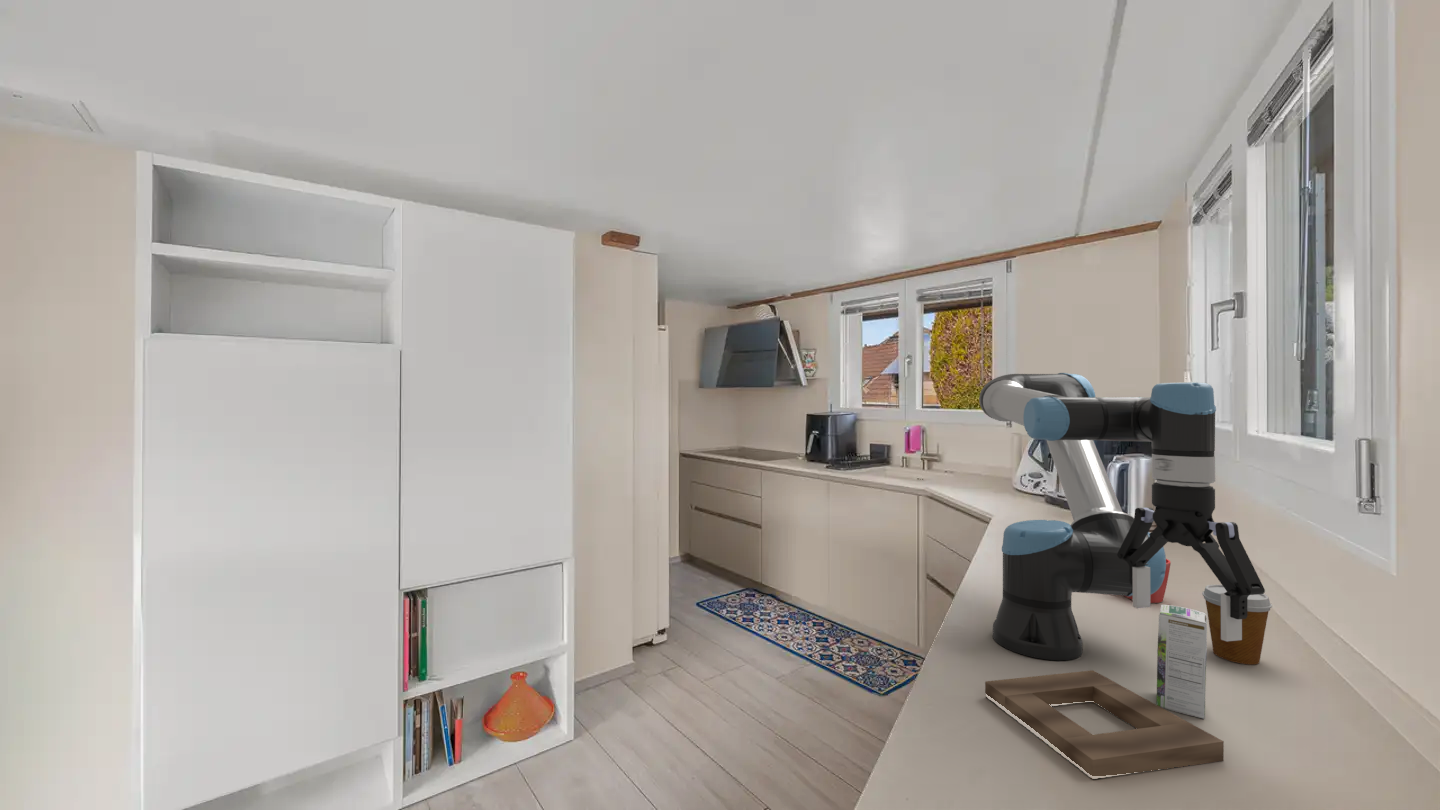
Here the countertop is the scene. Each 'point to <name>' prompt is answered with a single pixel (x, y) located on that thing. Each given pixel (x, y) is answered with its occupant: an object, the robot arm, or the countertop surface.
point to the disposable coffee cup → (1251, 627)
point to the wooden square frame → (1113, 753)
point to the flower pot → (1160, 593)
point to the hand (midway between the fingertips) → (1182, 622)
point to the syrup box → (1182, 660)
